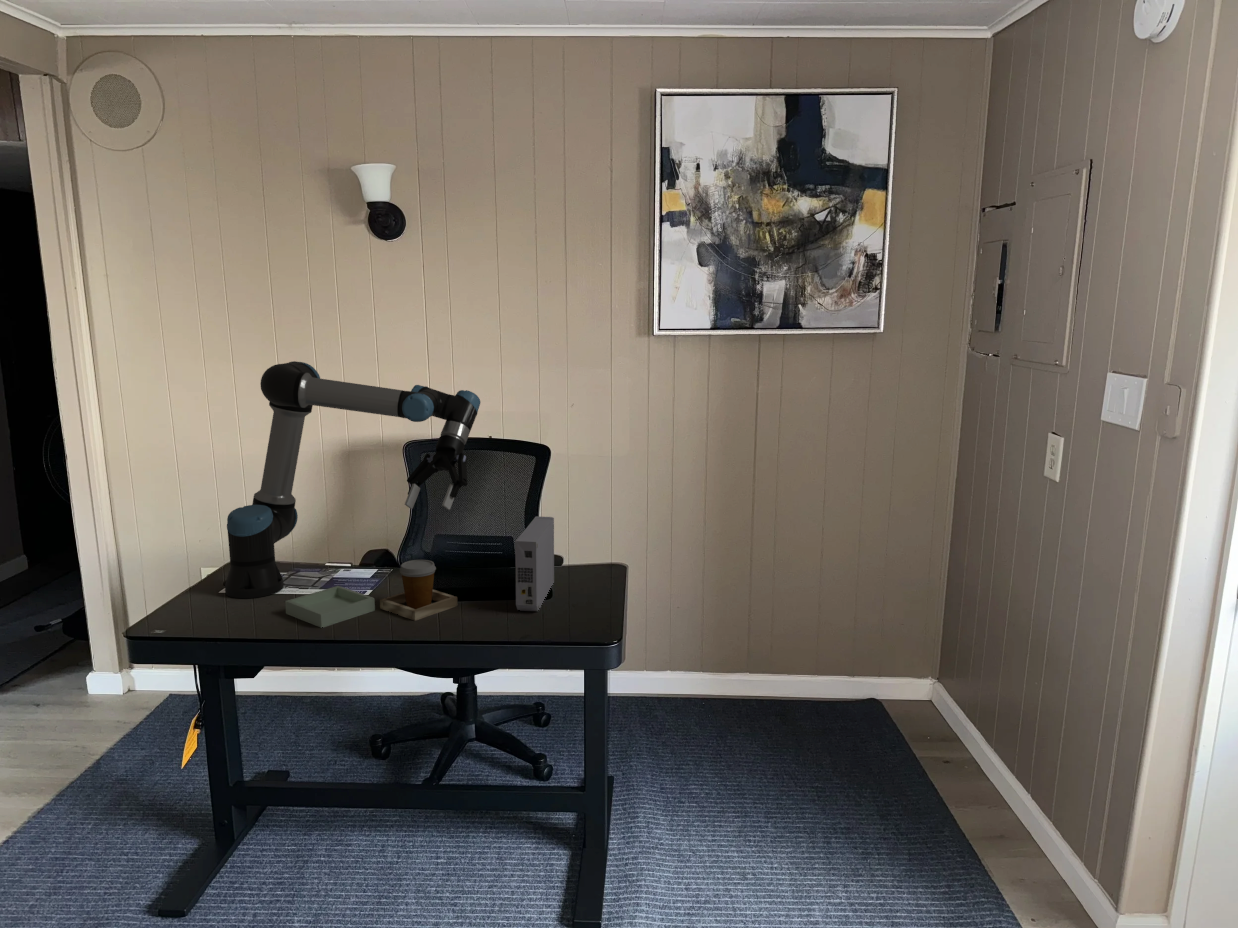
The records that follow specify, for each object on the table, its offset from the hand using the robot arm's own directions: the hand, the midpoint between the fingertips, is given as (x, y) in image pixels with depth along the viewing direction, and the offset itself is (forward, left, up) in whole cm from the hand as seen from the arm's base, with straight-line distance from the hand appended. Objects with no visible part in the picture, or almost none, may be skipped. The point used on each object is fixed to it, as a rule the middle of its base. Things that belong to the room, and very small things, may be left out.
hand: (426, 507), depth 227 cm
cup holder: (+4, -7, -26) cm, 27 cm away
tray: (-11, -24, -26) cm, 37 cm away
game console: (+23, +19, -26) cm, 40 cm away
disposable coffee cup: (+4, -7, -26) cm, 27 cm away
